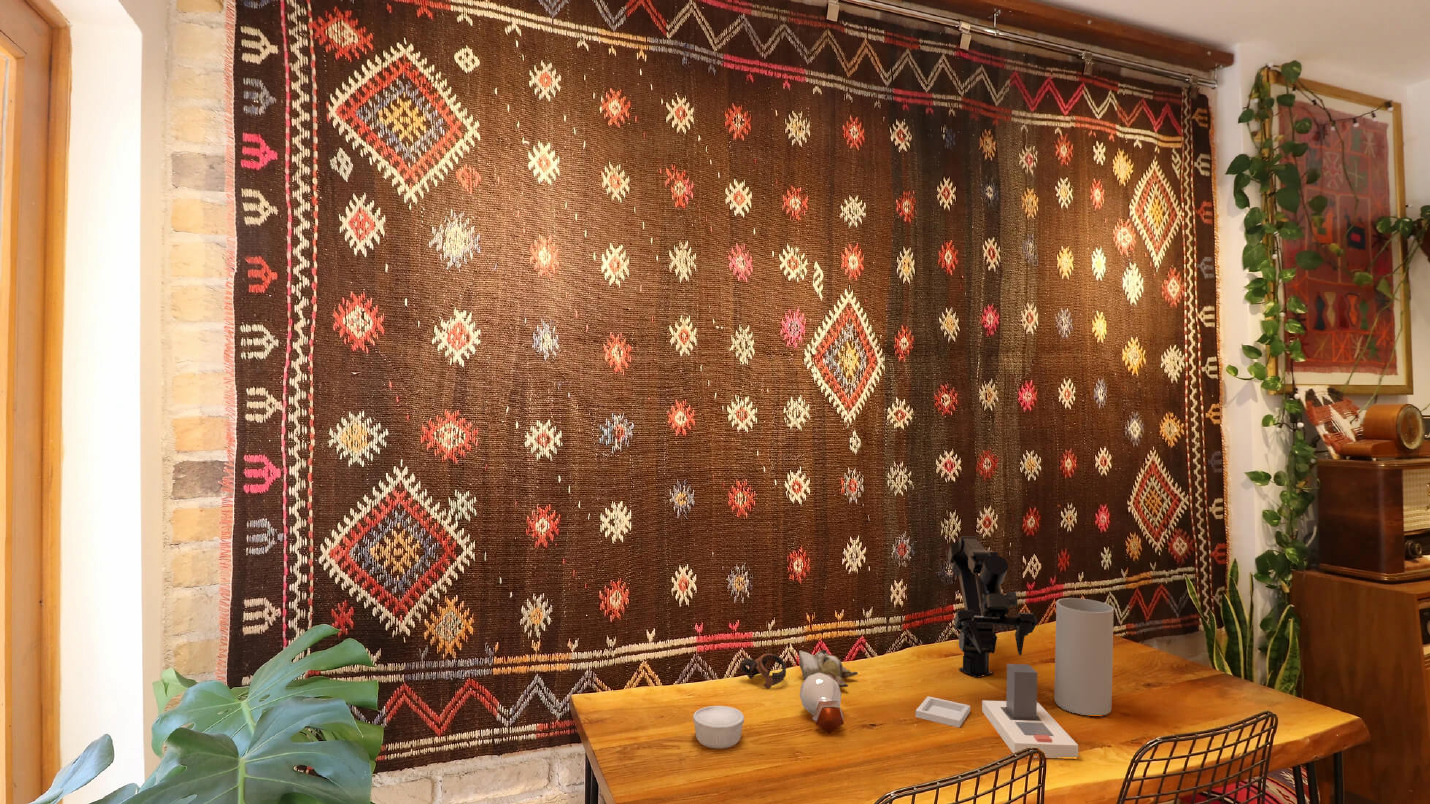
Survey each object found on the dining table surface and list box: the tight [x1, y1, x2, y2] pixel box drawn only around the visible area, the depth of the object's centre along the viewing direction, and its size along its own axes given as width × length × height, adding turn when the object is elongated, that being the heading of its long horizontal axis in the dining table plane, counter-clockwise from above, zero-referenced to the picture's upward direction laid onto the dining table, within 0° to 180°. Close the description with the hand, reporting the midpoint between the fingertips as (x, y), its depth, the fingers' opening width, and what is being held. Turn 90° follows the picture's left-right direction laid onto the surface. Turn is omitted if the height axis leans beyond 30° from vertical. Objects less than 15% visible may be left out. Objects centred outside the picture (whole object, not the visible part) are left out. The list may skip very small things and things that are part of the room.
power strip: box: [981, 699, 1079, 759], centre depth 168 cm, size 22×13×4 cm, turn 177°
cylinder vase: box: [1054, 597, 1115, 716], centre depth 184 cm, size 12×12×25 cm
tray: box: [915, 696, 971, 728], centre depth 177 cm, size 10×10×2 cm
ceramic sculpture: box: [798, 649, 859, 688], centre depth 198 cm, size 11×9×15 cm
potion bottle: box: [799, 673, 845, 734], centre depth 175 cm, size 10×10×15 cm
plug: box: [1005, 663, 1038, 721], centre depth 172 cm, size 5×5×13 cm
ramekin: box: [692, 705, 745, 750], centre depth 164 cm, size 11×11×5 cm
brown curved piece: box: [739, 652, 787, 690], centre depth 197 cm, size 12×10×8 cm
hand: (1000, 653), depth 181 cm, fingers open, 9 cm apart
